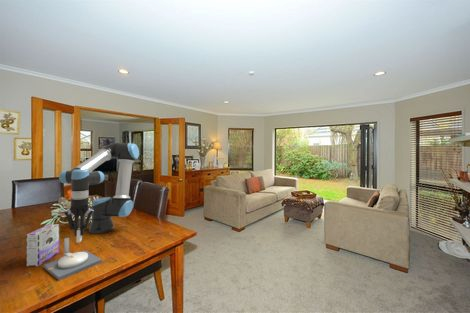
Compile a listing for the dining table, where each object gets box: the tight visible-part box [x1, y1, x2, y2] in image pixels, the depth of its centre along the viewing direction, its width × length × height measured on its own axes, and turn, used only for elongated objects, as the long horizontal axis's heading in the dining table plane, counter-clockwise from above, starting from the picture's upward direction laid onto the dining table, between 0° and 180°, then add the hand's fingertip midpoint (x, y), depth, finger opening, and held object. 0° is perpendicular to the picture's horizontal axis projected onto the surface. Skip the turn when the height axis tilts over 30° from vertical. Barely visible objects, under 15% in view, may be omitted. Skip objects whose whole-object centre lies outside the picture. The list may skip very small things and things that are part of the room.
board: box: [43, 249, 103, 281], centre depth 104 cm, size 19×18×2 cm
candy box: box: [25, 223, 60, 267], centre depth 108 cm, size 14×6×16 cm, turn 5°
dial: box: [57, 237, 88, 268], centre depth 105 cm, size 15×12×10 cm
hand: (79, 241), depth 111 cm, fingers closed
